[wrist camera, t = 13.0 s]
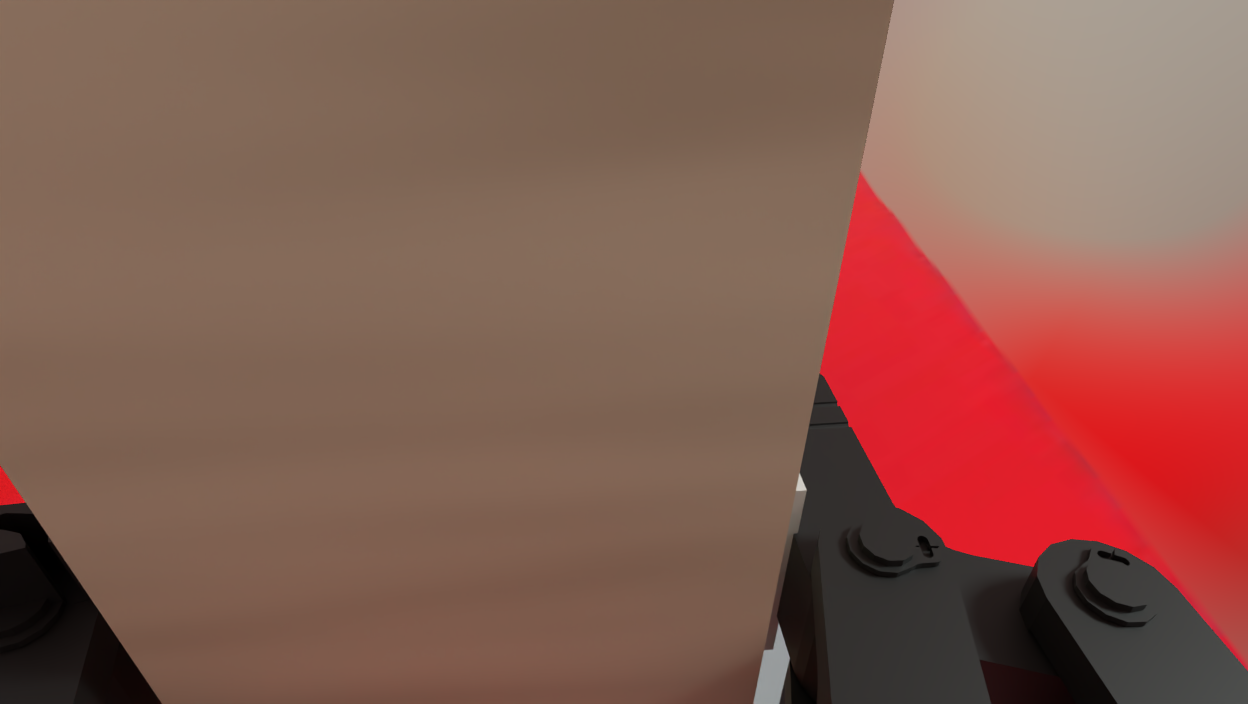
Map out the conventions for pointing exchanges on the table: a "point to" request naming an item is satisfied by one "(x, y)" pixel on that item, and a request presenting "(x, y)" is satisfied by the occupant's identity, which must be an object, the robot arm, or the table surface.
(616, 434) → the peg
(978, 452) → the table surface
